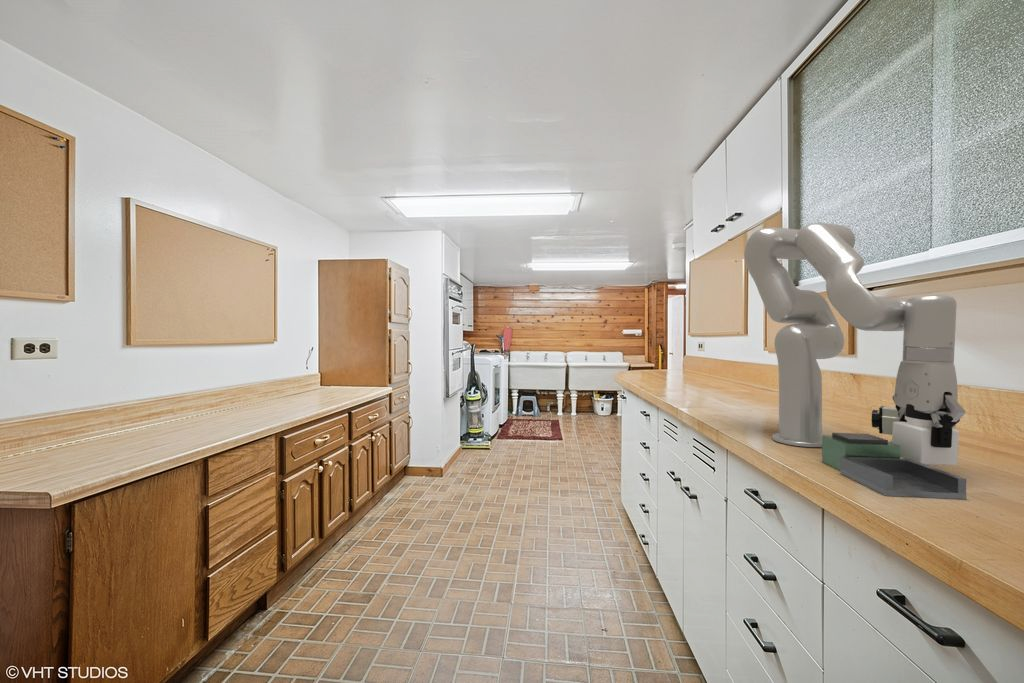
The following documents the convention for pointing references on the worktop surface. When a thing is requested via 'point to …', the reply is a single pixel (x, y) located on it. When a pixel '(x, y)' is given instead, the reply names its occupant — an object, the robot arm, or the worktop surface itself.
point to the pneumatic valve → (885, 419)
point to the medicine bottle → (922, 439)
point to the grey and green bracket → (887, 468)
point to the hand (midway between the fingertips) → (923, 441)
